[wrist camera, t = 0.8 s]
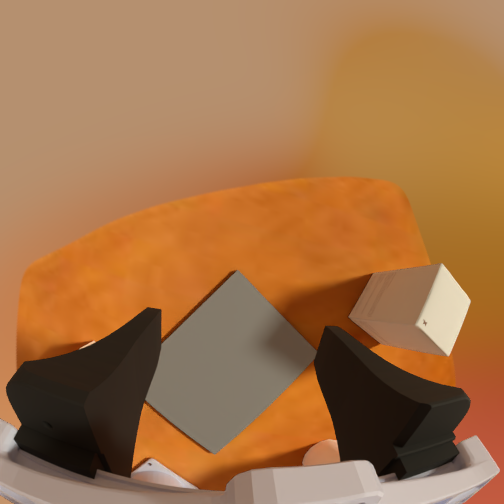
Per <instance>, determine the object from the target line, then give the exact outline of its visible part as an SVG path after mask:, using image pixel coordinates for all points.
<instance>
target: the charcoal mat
mask: <svg viewBox="0 0 504 504" xmlns="http://www.w3.org/2000/svg"><path fill="white" fill-rule="evenodd" d="M316 353H317V351H316V350H315V349H314V348H313V347H312V346H311V345H310V344H309V343H308V342H307V341H306V340H305V339H304V338H303V337H302V336H301V334H300V333H299V332H298V331H297V330H296V329H295V328H294V327H293V326H292V325H291V324H290V323H289V322H288V321H287V320H286V319H285V318H284V317H283V316H282V315H281V314H280V313H279V312H278V311H277V310H276V309H275V308H274V307H273V306H272V305H271V304H270V303H269V302H268V301H267V300H266V299H265V298H264V297H263V296H262V295H261V293H260V292H259V291H258V290H257V289H256V288H255V287H254V286H253V285H252V284H251V283H250V282H249V281H248V280H247V279H246V278H245V277H244V276H243V275H242V274H241V273H240V272H239V271H238V270H237V271H236V272H235V273H234V274H233V275H232V276H231V277H230V278H229V279H227V280H226V281H225V282H224V283H223V284H222V285H221V286H220V287H219V288H218V289H217V290H216V291H215V292H214V293H213V294H212V295H211V296H210V297H209V298H208V299H207V300H206V301H205V302H204V303H203V304H202V305H201V306H200V307H199V308H198V309H197V310H196V311H195V312H194V313H193V314H192V315H191V316H190V317H188V318H187V319H186V320H185V321H184V322H183V323H182V324H181V325H180V326H179V327H178V328H177V329H176V330H175V331H174V332H173V333H172V334H171V335H170V336H169V337H168V338H167V339H166V340H165V341H164V342H163V343H162V344H161V352H160V356H159V361H158V365H157V368H156V371H155V374H154V377H153V379H152V382H151V385H150V388H149V390H148V393H147V396H146V399H145V400H146V401H147V402H148V403H149V404H150V405H151V406H153V407H154V408H155V409H156V410H157V411H158V412H160V413H161V414H162V415H163V416H164V417H165V418H167V419H168V420H169V421H170V422H172V423H173V424H174V425H175V426H177V427H178V428H179V429H180V430H182V431H183V432H184V433H186V434H187V435H188V436H190V437H191V438H192V439H194V440H195V441H196V442H198V443H199V444H200V445H202V446H203V447H205V448H206V449H207V450H209V451H210V452H212V453H213V454H216V453H217V452H219V451H220V450H221V449H222V448H223V447H224V446H226V445H227V444H228V443H229V442H230V441H231V440H233V439H234V438H235V437H236V436H237V435H238V434H239V433H241V432H242V431H243V430H244V429H245V428H246V427H247V426H248V425H249V424H250V423H252V422H253V421H254V420H255V419H256V418H257V417H258V416H259V415H260V414H261V413H262V412H263V411H264V410H265V409H266V408H267V407H268V406H270V405H271V404H272V403H273V402H274V401H275V400H276V399H277V398H278V397H279V396H280V395H281V394H282V393H283V392H284V391H285V390H286V389H287V388H288V387H289V385H290V384H291V383H292V382H293V381H294V380H295V379H296V378H297V377H298V376H299V375H300V374H301V373H302V372H303V371H304V370H305V369H306V368H307V366H308V365H309V364H310V363H311V362H312V361H313V360H314V359H315V356H316Z"/></svg>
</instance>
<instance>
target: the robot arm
mask: <svg viewBox="0 0 504 504" xmlns="http://www.w3.org/2000/svg"><path fill="white" fill-rule="evenodd" d="M160 352H161V309H155V308H149V307H148V308H146V309H145V310H143V311H142V312H141V313H139V314H138V315H137V316H136V317H134V318H133V319H132V320H130V321H129V322H128V323H126V324H125V325H123V326H122V327H121V328H119V329H118V330H116V331H114V332H113V333H111V334H110V335H108V336H107V337H105V338H103V339H101V340H99V341H97V342H95V343H93V344H91V345H89V346H87V347H84V348H81V349H79V350H76V351H73V352H71V353H68V354H64V355H61V356H56V357H52V358H47V359H41V360H34V361H25V362H24V363H23V364H22V365H21V366H20V368H19V369H18V370H17V372H16V373H15V374H14V375H13V377H12V378H11V380H10V381H9V382H8V384H7V386H6V392H7V396H8V399H9V401H10V403H11V405H12V407H13V409H14V411H15V413H16V415H17V417H18V418H19V420H20V422H21V424H22V425H21V427H20V428H19V430H17V429H16V428H15V427H14V426H13V425H11V424H10V423H8V422H6V421H4V420H2V419H0V495H1V496H2V497H4V498H5V499H7V500H9V501H10V502H12V503H14V504H462V503H464V502H465V501H467V500H468V499H469V498H470V497H472V496H473V495H474V494H475V493H476V492H478V491H479V490H480V489H481V488H482V487H483V486H485V485H486V484H487V483H488V482H489V481H490V480H491V479H492V478H493V477H494V476H496V475H497V474H498V473H499V471H500V469H499V468H498V466H497V465H496V463H495V462H494V460H493V459H492V457H491V456H490V454H489V453H488V451H487V450H486V448H485V447H484V445H483V444H482V443H481V441H480V440H479V438H478V437H477V436H473V437H470V438H468V439H466V440H464V441H461V442H460V443H458V444H457V445H456V446H455V444H454V443H453V440H454V439H455V437H456V436H455V435H454V433H453V431H454V429H455V428H456V427H457V426H458V424H459V423H460V422H461V420H462V419H463V418H464V416H465V415H466V413H467V411H468V409H469V407H470V399H469V397H468V396H467V395H466V393H465V392H464V391H463V390H462V389H461V388H456V387H451V386H447V385H442V384H438V383H435V382H432V381H428V380H426V379H423V378H420V377H418V376H415V375H413V374H410V373H408V372H406V371H404V370H402V369H400V368H398V367H396V366H395V365H393V364H391V363H389V362H388V361H386V360H384V359H383V358H381V357H380V356H378V355H377V354H375V353H374V352H372V351H371V350H370V349H368V348H367V347H365V346H364V345H363V344H361V343H360V342H359V341H357V340H356V339H355V338H354V337H352V336H351V335H350V334H348V333H347V332H345V331H344V330H343V329H341V328H339V327H338V326H325V329H324V332H323V335H322V338H321V341H320V344H319V347H318V350H317V353H316V356H315V359H314V365H315V370H316V375H317V379H318V382H319V385H320V388H321V391H322V393H323V396H324V399H325V401H326V404H327V407H328V410H329V412H330V415H331V418H332V421H333V425H334V430H335V434H336V439H337V444H338V450H339V456H340V462H335V463H327V464H318V465H306V466H291V467H269V468H261V469H252V470H249V471H246V472H243V473H240V474H237V475H236V476H234V477H233V478H232V479H231V480H230V481H229V482H228V483H227V486H226V490H225V491H212V490H200V489H198V488H197V487H196V486H194V485H192V484H191V483H189V482H188V481H186V480H184V479H183V478H181V477H180V476H178V475H177V474H175V473H174V472H172V471H171V470H169V469H168V468H166V467H165V466H163V465H162V464H161V463H159V462H158V461H156V460H155V459H153V458H150V459H148V460H147V461H146V462H145V463H143V464H142V465H141V466H139V467H138V468H137V469H136V470H134V471H133V472H132V473H131V470H132V462H133V455H134V448H135V442H136V436H137V430H138V425H139V420H140V416H141V411H142V408H143V404H144V402H145V399H146V396H147V393H148V390H149V388H150V385H151V382H152V379H153V377H154V374H155V371H156V368H157V365H158V361H159V356H160ZM148 463H151V464H148Z"/></svg>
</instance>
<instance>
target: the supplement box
mask: <svg viewBox="0 0 504 504" xmlns="http://www.w3.org/2000/svg"><path fill="white" fill-rule="evenodd" d="M470 302H471V300H470V299H469V298H468V296H467V295H466V293H465V292H464V291H463V290H462V289H461V287H460V286H459V284H458V283H457V282H456V281H455V279H454V278H453V277H452V275H451V274H450V273H449V271H448V270H447V269H446V268H445V266H444V265H443V264H442V263H440V264H435V265H428V266H421V267H414V268H407V269H400V270H392V271H385V272H378V273H373V274H372V276H371V278H370V280H369V282H368V283H367V285H366V287H365V289H364V291H363V292H362V294H361V296H360V298H359V299H358V301H357V303H356V305H355V306H354V308H353V310H352V311H351V313H350V315H349V317H348V318H350V319H351V320H352V321H353V322H354V323H356V324H357V325H358V326H359V327H361V328H362V329H363V330H364V331H366V332H367V333H368V334H369V335H371V336H372V337H373V338H374V339H376V340H377V341H378V342H379V343H380V344H383V345H388V346H393V347H398V348H403V349H408V350H413V351H419V352H424V353H430V354H436V355H442V356H449V355H450V352H451V350H452V348H453V345H454V343H455V341H456V338H457V336H458V334H459V331H460V329H461V326H462V323H463V320H464V318H465V316H466V313H467V310H468V307H469V304H470Z"/></svg>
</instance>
